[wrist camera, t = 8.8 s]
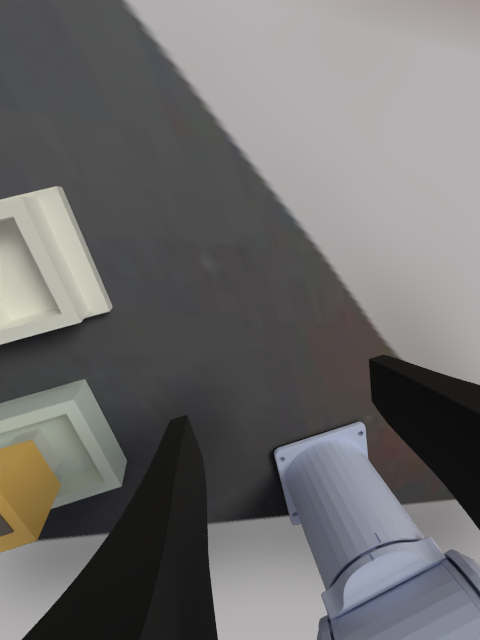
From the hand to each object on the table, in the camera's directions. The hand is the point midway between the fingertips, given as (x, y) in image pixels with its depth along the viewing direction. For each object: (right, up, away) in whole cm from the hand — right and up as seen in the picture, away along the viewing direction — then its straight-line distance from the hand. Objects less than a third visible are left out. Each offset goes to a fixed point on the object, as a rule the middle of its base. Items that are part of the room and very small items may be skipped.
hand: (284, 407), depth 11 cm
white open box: (-14, +6, +6) cm, 16 cm away
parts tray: (-15, -5, +10) cm, 19 cm away
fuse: (-15, -5, +9) cm, 19 cm away
